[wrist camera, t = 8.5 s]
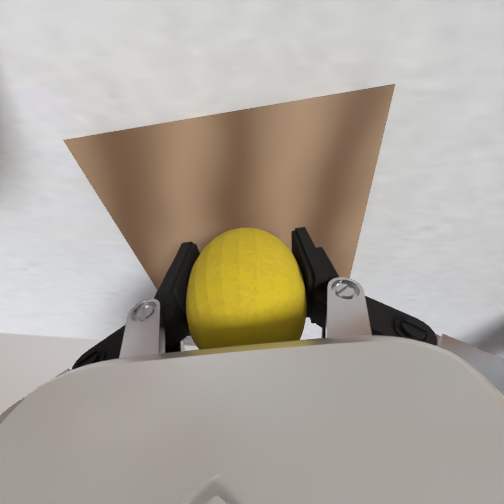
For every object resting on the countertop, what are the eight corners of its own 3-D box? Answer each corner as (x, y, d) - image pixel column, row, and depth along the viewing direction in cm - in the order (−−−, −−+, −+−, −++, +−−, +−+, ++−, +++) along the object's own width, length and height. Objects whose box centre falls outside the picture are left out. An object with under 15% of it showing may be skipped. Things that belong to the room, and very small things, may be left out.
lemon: (228, 283, 15) (216, 416, 8) (186, 225, 12) (114, 364, 5) (297, 259, 14) (346, 392, 7) (271, 188, 10) (313, 308, 4)
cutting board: (377, 87, 10) (395, 83, 9) (340, 274, 19) (347, 285, 17) (82, 137, 11) (63, 140, 10) (172, 294, 20) (167, 306, 18)
